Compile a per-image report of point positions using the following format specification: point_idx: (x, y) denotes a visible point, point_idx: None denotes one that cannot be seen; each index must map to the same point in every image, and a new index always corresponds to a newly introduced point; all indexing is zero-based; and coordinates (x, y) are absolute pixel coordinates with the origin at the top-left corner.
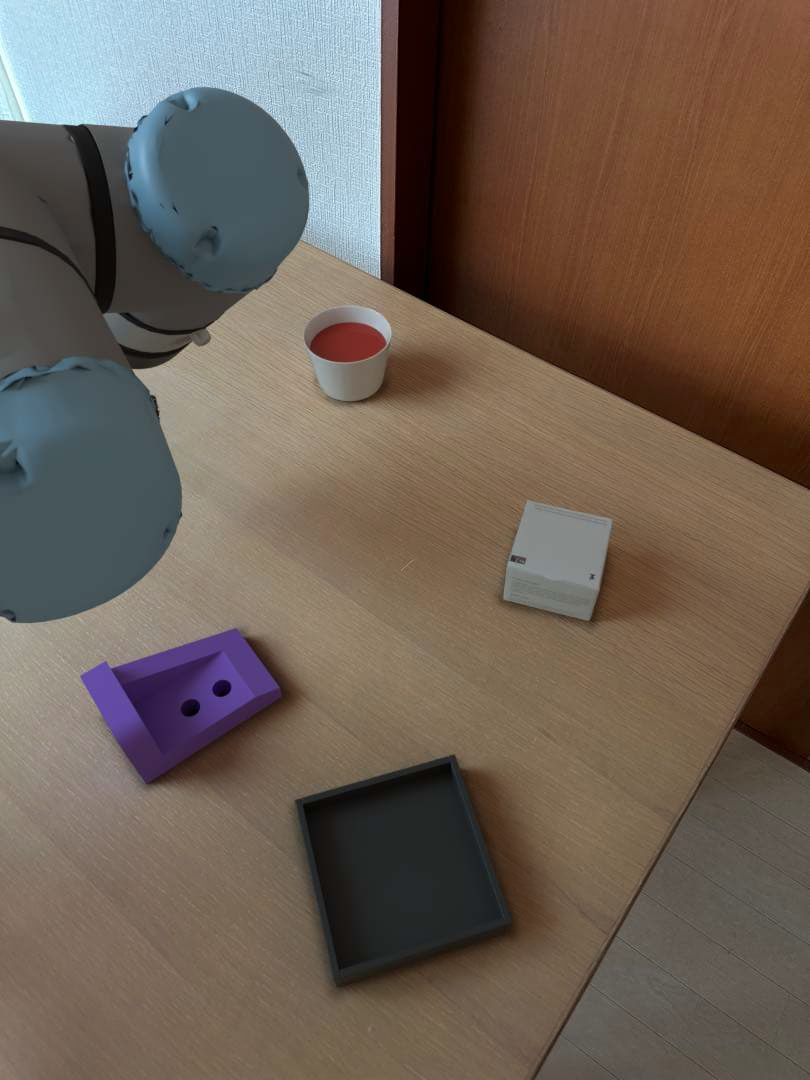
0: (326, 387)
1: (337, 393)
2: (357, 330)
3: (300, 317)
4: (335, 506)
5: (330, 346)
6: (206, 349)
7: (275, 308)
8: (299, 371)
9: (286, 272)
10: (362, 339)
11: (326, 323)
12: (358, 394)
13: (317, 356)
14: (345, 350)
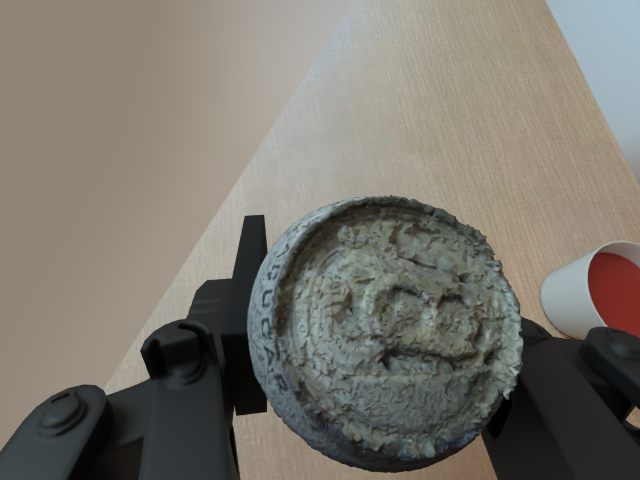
0: (552, 307)
1: (557, 321)
2: (638, 281)
3: (563, 193)
4: (475, 453)
5: (599, 281)
6: (465, 168)
7: (547, 167)
8: (530, 254)
9: (577, 135)
10: (637, 297)
11: (612, 250)
12: (576, 337)
13: (592, 303)
14: (612, 298)
